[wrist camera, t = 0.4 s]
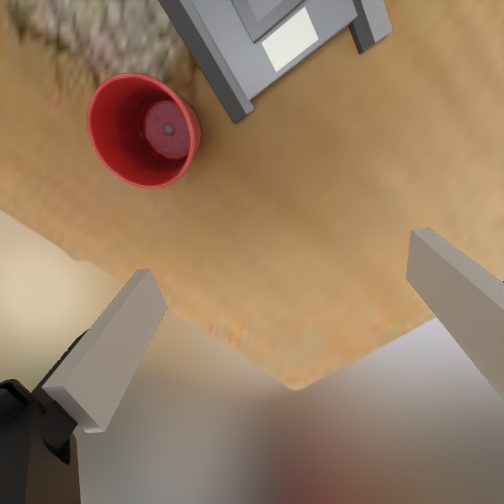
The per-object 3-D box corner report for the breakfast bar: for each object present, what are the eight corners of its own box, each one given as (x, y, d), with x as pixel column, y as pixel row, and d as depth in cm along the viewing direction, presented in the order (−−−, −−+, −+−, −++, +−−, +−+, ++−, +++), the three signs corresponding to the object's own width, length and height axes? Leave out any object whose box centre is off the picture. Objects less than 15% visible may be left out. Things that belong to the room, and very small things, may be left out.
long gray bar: (89, -117, 24) (77, -133, 22) (110, -147, 23) (99, -166, 21) (235, 123, 33) (234, 123, 31) (255, 108, 32) (254, 108, 30)
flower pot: (126, 77, 31) (72, 65, 23) (214, 87, 31) (193, 79, 23) (136, 165, 36) (96, 182, 28) (212, 174, 36) (194, 194, 28)
